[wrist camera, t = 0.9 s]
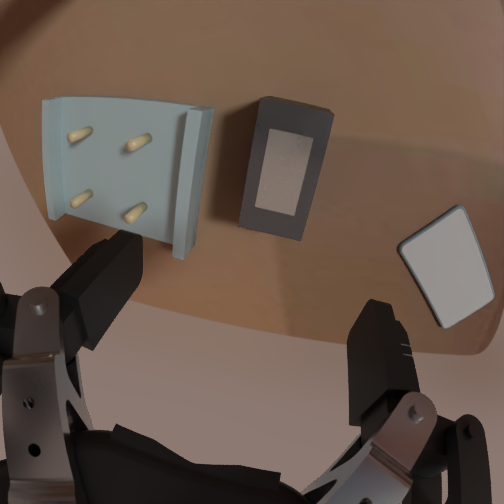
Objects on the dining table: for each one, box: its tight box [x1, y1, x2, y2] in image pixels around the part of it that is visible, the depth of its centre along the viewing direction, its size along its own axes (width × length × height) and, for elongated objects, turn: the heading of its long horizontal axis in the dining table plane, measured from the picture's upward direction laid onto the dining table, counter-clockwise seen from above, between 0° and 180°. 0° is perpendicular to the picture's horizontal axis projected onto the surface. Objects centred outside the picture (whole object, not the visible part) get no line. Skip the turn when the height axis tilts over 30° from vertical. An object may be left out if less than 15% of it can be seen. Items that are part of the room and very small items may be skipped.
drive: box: [238, 96, 334, 241], centre depth 23 cm, size 10×5×5 cm, turn 170°
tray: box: [42, 95, 215, 260], centre depth 26 cm, size 14×18×4 cm
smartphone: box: [399, 205, 495, 329], centre depth 27 cm, size 8×1×15 cm
